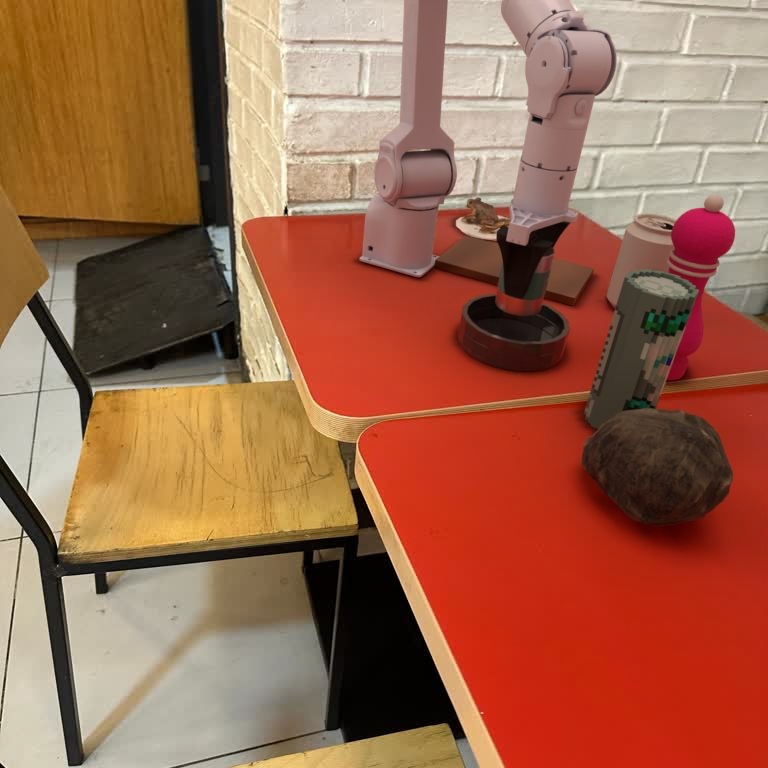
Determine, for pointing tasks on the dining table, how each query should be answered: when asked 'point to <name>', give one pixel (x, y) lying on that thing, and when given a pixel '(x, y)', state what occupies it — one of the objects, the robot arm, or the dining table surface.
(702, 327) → the pepper mill
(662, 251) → the can
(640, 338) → the can
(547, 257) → the tin can
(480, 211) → the frog figurine
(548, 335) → the pan
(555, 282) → the board
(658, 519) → the rock
